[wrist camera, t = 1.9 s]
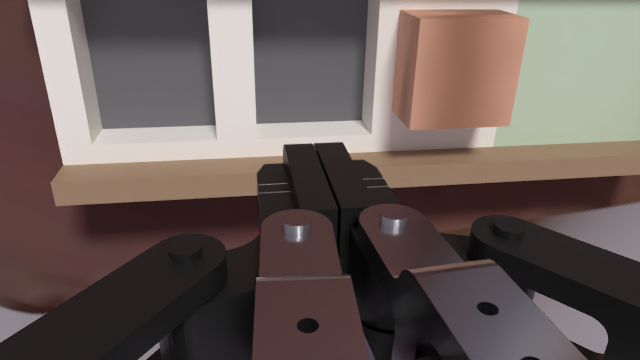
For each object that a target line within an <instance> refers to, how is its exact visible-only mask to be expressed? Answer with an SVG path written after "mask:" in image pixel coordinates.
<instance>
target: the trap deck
mask: <svg viewBox="0 0 640 360" xmlns="http://www.w3.org/2000/svg"><path fill="white" fill-rule="evenodd" d="M28 5H29V9H30V14H31V18H32V23H33V28H34V32H35V37H36V41H37V46H38V51H39V55H40V60H41V64H42V69H43V74H44V78H45V83H46V87H47V92H48V97H49V101H50V106H51V110H52V115H53V120H54V124H55V129H56V133H57V138H58V143H59V147H60V152H61V156H62V161H63V167H62V168H61V169H60V171H59V172H58V174H57V175H56V176H55V178H54V179H53V180H52V182H51V187H52V191H53V195H54V200H55V204H56V206H67V205H86V204H104V203H123V202H141V201H160V200H178V199H197V198H215V197H234V196H253V195H257V172H258V171H259V170H260V169H261V167H262V166H263V165H264V164H277V163H283V145H284V144H309V143H312V144H314V143H332V142H343V144H344V145H345V147H346V149H347V151H348V153H349V155H350V157H351V158H352V160H362V159H364V160H365V161H367V162H369V163H370V164H372V165H374V166H375V167H377V168H378V170H379V172H380V173H381V175H382V176H383V179H384V180H385V181H386V183H387V184H388V187H390V188H401V187H419V186H438V185H457V184H475V183H494V182H512V181H531V180H549V179H568V178H586V177H605V176H623V175H640V0H28ZM425 9H499V10H502V11H506V12H509V13H513V14H516V15H520V16H523V17H527V18H530V20H529V26H528V31H527V36H526V42H525V47H524V52H523V58H522V63H521V68H520V74H519V79H518V84H517V90H516V95H515V100H514V106H513V111H512V116H511V122H510V126H506V127H479V128H452V129H425V130H409V129H408V128H407V127H406V126H405V124H404V123H403V122H402V121H401V120H400V119H399V118H398V117H397V116H396V114H395V113H394V112H393V111H392V101H393V89H394V77H395V64H396V52H397V40H398V27H399V15H400V10H425Z"/></svg>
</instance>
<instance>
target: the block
mask: <svg viewBox="0 0 640 360" xmlns="http://www.w3.org/2000/svg"><path fill="white" fill-rule="evenodd" d="M529 20H530V18H527V17H523V16H520V15H516V14H513V13H509V12H506V11H502V10H499V9H425V10H400V15H399V27H398V40H397V52H396V64H395V77H394V89H393V101H392V111H393V112H394V113H395V114H396V116H397V117H398V118H399V119H400V120H401V121H402V122H403V123H404V124H405V126H406V127H407V128H408V129H409V130H425V129H452V128H479V127H506V126H510V122H511V116H512V111H513V106H514V100H515V95H516V90H517V84H518V79H519V74H520V68H521V63H522V58H523V52H524V47H525V42H526V36H527V31H528V26H529Z"/></svg>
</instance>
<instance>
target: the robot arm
mask: <svg viewBox="0 0 640 360" xmlns="http://www.w3.org/2000/svg"><path fill="white" fill-rule="evenodd" d="M257 196H258V222H259V235H258V236H257V237H256V238H255V239H254V240H253V241H251V242H249V243H248V244H246V245H243V246H241V247H238V248H235V249H231V250H227V251H226V249H225V246H224V244H223V243H222V242H221V241H219V240H218V239H216V238H214V237H211V236H207V235H202V234H185V235H179V236H174V237H171V238H168V239H165V240H163V241H161V242H159V243H157V244H156V245H154V246H153V247H151V248H149V249H148V250H146V251H145V252H143V253H141V254H140V255H138V256H137V257H135V258H134V259H132V260H130V261H129V262H127V263H126V264H124V265H123V266H121V267H119V268H118V269H116V270H115V271H113V272H111V273H110V274H108V275H107V276H105V277H104V278H102V279H100V280H99V281H97V282H96V283H94V284H92V285H91V286H89V287H88V288H86V289H85V290H83V291H81V292H80V293H78V294H77V295H75V296H74V297H72V298H70V299H69V300H67V301H66V302H64V303H62V304H61V305H59V306H58V307H56V308H55V309H53V310H51V311H50V312H48V313H47V314H45V315H43V316H42V317H40V318H39V319H37V320H36V321H34V322H32V323H31V324H29V325H28V326H26V327H25V328H23V329H21V330H20V331H18V332H17V333H15V334H13V335H12V336H10V337H9V338H7V339H6V340H4V341H2V342H1V343H0V360H138V359H139V358H140V357H141V356H143V355H144V354H145V353H146V352H147V351H148V350H150V349H151V348H152V347H153V346H154V345H156V344H157V343H158V342H159V343H160V348H159V349H158V350H157V351H156V352H155V353H154V354H152V355H151V356H150V357H149V358H148V359H147V360H640V262H638V261H635V260H632V259H629V258H627V257H624V256H621V255H618V254H616V253H613V252H610V251H608V250H605V249H602V248H599V247H596V246H594V245H591V244H588V243H585V242H583V241H580V240H577V239H574V238H571V237H569V236H566V235H563V234H561V233H558V232H555V231H552V230H550V229H547V228H544V227H541V226H538V225H536V224H533V223H530V222H528V221H525V220H522V219H519V218H515V217H511V216H503V215H489V216H484V217H481V218H478V219H477V220H475V221H474V222H473V224H472V226H471V232H470V236H463V235H455V234H446V233H440V232H438V230H437V229H436V228H435V227H434V226H433V224H432V223H431V222H430V221H429V220H428V219H427V217H426V216H425V215H424V214H423V213H421V212H420V211H418V210H416V209H414V208H411V207H408V206H404V205H400V203H399V202H398V200H397V199H396V197H395V195H394V194H393V192H392V191H391V189H390V187H388V184H387V183H386V181H385V180H384V179H383V176H382V175H381V173H380V172H379V170H378V168H377V167H375V166H374V165H372V164H370V163H369V162H367V161H365V160H364V159H362V160H352V158H351V157H350V155H349V153H348V151H347V149H346V147H345V145H344V144H343V142H332V143H314V144H312V143H309V144H284V145H283V163H277V164H264V165H263V166H262V167H261V169H260V170H259V171H258V172H257ZM534 292H538V293H540V294H542V295H545V296H547V297H549V298H551V299H553V300H556V301H558V302H560V303H562V304H565V305H567V306H569V307H572V308H574V309H576V310H578V311H580V312H583V313H585V314H587V315H590V316H591V317H593V318H595V319H596V320H598V321H599V322H600V323H601V324H602V325H603V326H604V328H605V329H606V331H607V334H608V344H607V347H606V350H605V353H604V354H600V353H595V352H593V351H591V350H589V349H587V348H584V347H582V346H580V345H578V344H576V343H574V342H572V341H570V340H569V339H568V338H567V337H566V336H565V335H564V334H563V333H562V332H561V331H560V330H559V329H558V328H557V327H556V326H555V325H554V323H553V322H552V321H551V320H550V319H549V318H548V317H547V316H546V315H545V314H544V313H543V312H542V311H541V310H540V309H539V308H538V306H537V305H536V304H535V303H534V302H533V301H532V300H533V297H534Z"/></svg>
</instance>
